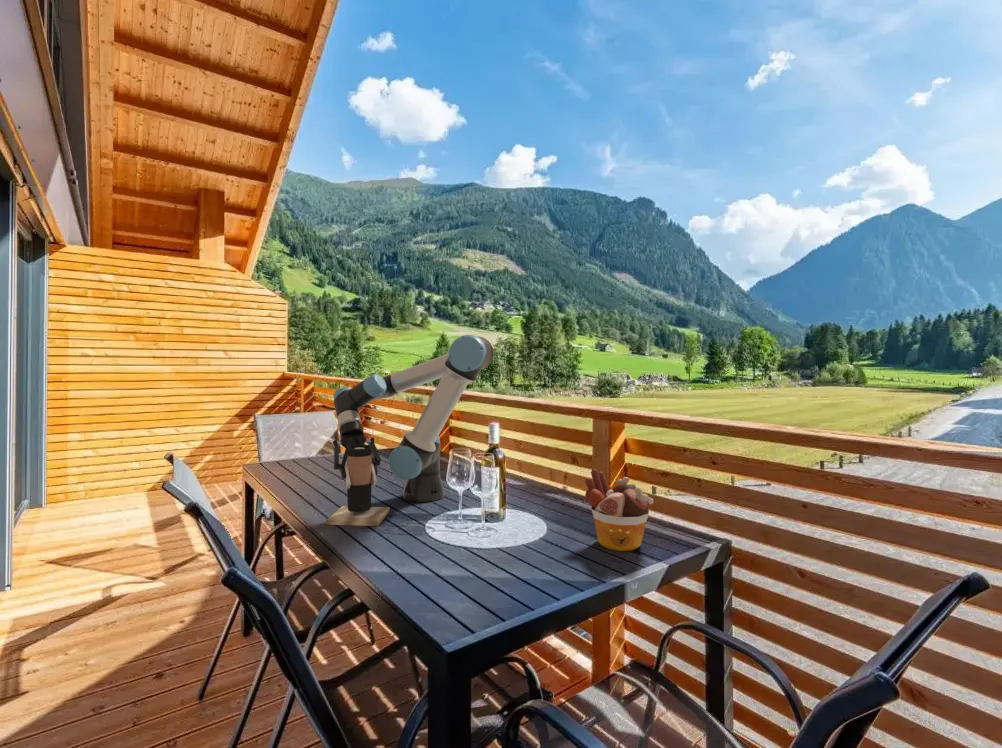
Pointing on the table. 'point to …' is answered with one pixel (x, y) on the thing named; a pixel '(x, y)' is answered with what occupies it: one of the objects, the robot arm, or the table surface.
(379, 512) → the coaster board
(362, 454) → the travel mug
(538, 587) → the table surface
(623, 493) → the bucket of meat
